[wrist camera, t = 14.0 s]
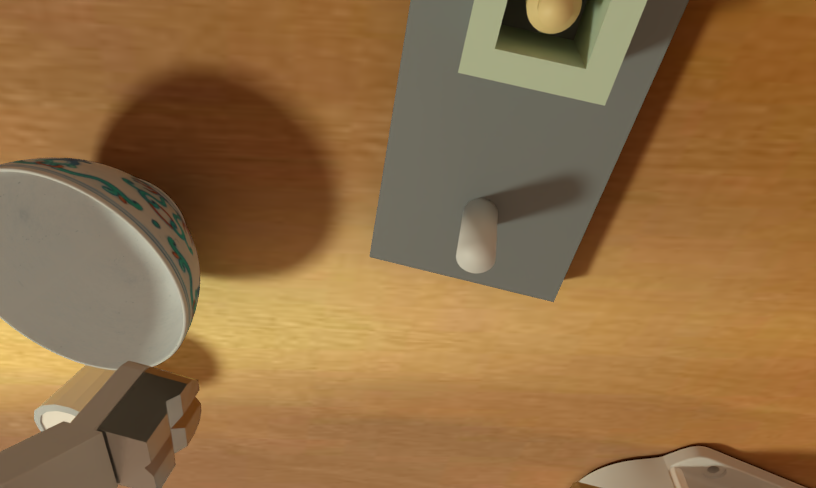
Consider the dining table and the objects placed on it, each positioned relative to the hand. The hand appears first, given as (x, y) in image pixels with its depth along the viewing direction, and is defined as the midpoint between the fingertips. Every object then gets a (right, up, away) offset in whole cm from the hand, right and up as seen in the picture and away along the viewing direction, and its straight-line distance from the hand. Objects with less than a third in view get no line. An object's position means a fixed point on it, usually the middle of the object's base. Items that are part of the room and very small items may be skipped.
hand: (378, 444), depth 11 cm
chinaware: (-18, +6, +26) cm, 33 cm away
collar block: (+7, +16, +12) cm, 21 cm away
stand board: (+6, +12, +17) cm, 22 cm away
